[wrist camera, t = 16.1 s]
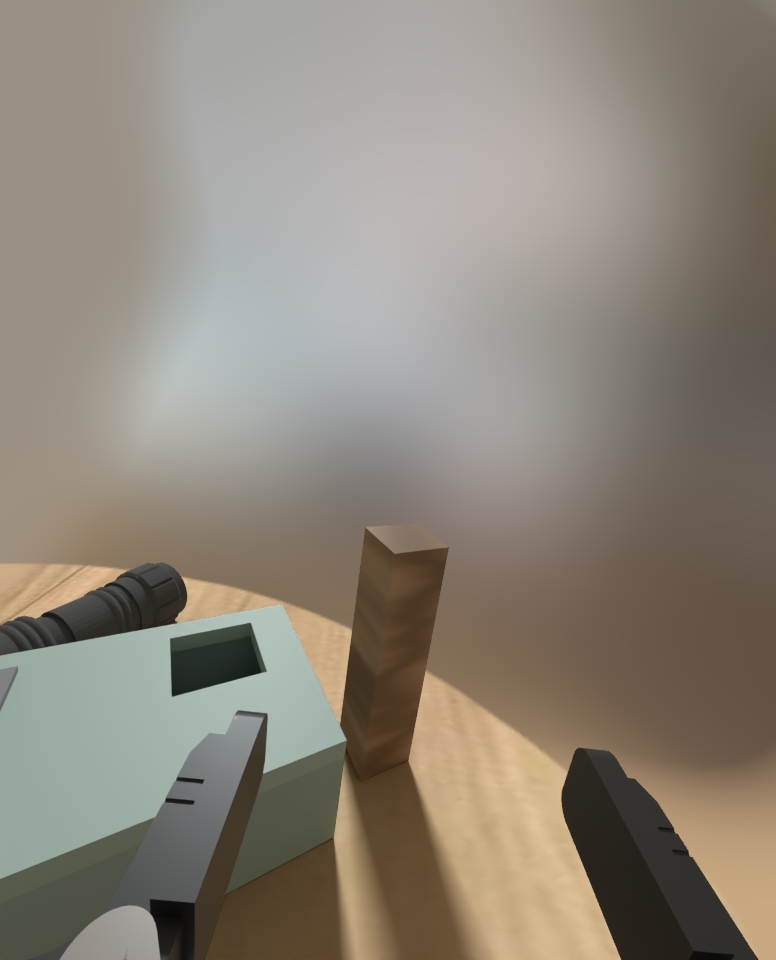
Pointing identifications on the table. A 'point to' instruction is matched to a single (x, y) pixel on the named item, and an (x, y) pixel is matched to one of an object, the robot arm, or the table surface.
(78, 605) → the flashlight
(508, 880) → the table surface
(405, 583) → the wooden peg
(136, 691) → the peg-in-hole base
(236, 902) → the table surface
